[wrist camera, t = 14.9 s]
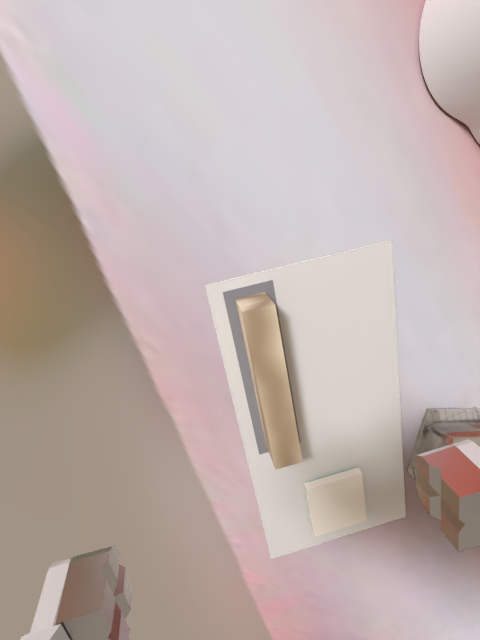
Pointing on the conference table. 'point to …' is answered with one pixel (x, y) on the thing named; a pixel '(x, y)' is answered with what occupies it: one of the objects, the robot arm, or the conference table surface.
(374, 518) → the mat
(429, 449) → the packaged product
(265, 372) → the long tan strip
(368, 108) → the conference table surface
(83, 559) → the robot arm
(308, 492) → the tile
